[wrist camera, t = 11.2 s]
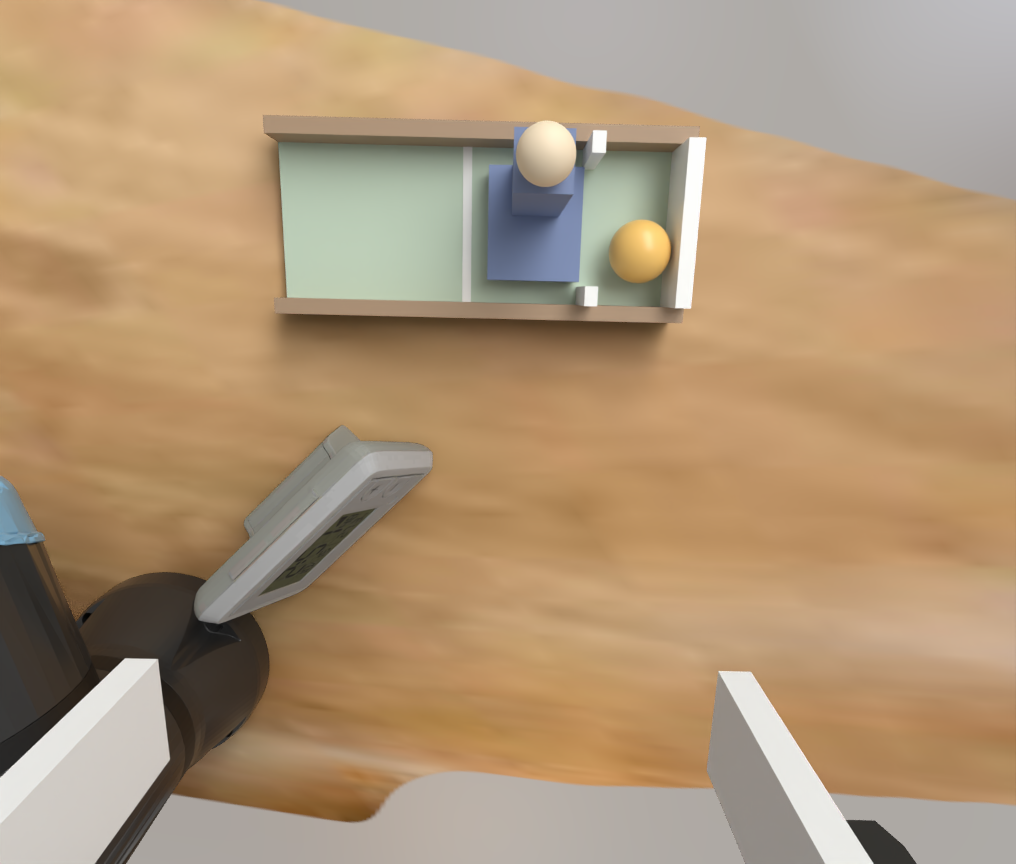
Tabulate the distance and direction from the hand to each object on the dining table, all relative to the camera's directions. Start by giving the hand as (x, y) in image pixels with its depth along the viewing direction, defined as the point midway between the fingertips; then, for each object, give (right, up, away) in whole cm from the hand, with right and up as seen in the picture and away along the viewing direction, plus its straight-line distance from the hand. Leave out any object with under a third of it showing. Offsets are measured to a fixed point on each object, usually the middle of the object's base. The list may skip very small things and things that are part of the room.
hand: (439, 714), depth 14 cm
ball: (+10, +18, +25) cm, 33 cm away
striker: (+3, +20, +26) cm, 34 cm away
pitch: (0, +21, +28) cm, 35 cm away
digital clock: (-11, +1, +32) cm, 34 cm away
